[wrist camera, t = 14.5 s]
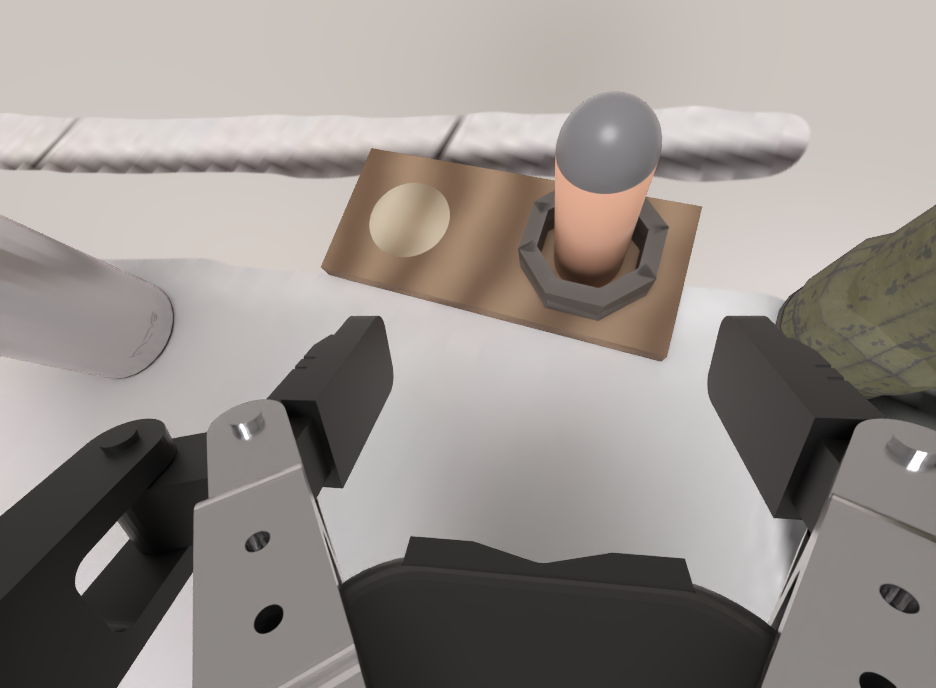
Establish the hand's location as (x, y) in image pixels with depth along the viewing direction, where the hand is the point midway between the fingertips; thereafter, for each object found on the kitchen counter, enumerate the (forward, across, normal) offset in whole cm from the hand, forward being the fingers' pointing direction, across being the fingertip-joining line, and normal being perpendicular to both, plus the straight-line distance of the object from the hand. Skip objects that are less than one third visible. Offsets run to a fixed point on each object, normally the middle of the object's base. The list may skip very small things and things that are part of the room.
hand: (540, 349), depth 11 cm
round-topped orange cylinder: (+23, -4, +6) cm, 24 cm away
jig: (+26, +3, +6) cm, 27 cm away
